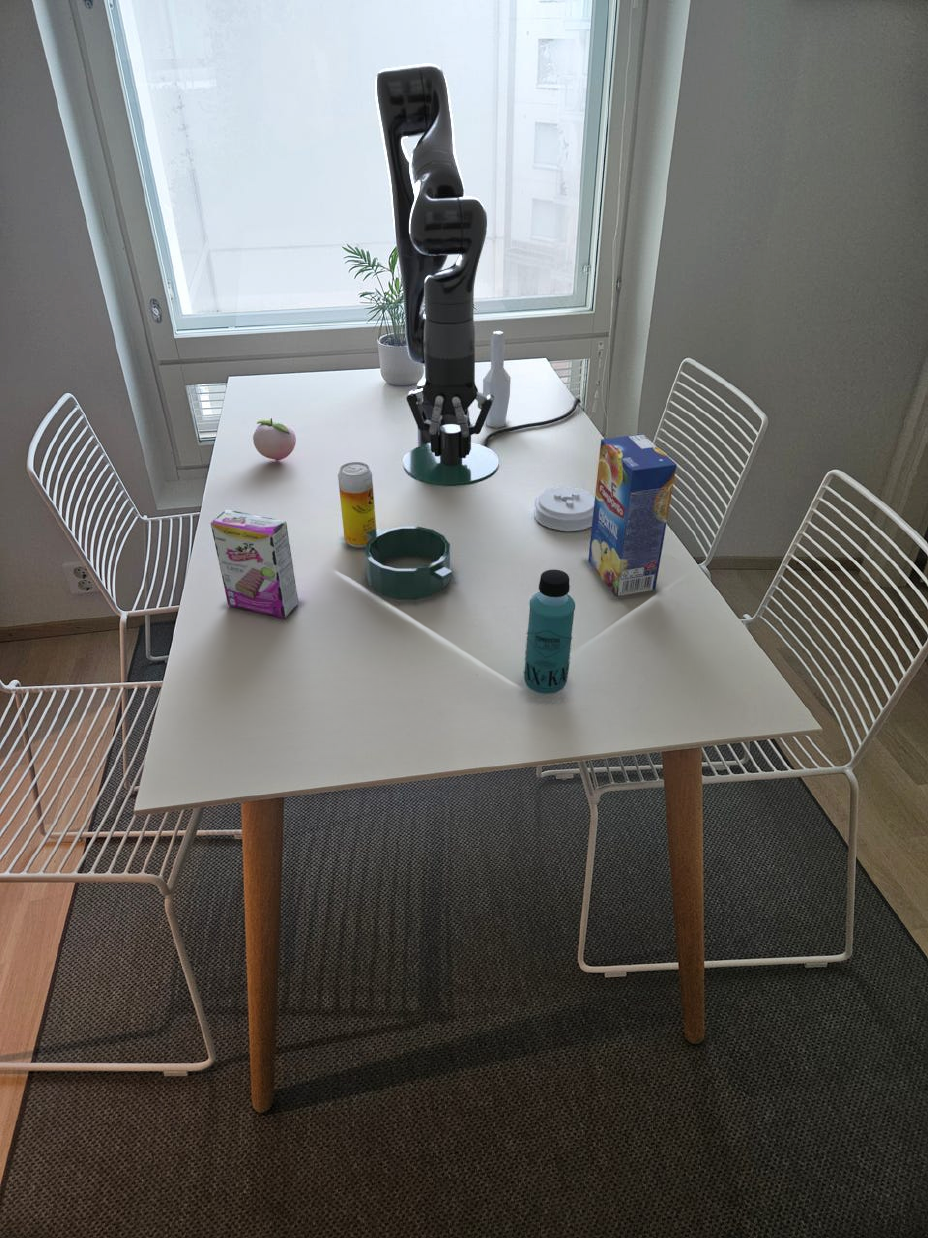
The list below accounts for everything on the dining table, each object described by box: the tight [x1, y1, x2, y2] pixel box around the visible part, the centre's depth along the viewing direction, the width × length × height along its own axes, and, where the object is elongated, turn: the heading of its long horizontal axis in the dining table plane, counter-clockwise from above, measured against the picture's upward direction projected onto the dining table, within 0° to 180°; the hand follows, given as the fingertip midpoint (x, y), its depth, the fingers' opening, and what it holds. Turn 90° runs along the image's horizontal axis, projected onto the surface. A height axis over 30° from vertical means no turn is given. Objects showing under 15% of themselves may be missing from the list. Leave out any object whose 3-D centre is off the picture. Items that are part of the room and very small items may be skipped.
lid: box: [533, 486, 595, 532], centre depth 157 cm, size 13×13×5 cm
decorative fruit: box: [252, 417, 297, 462], centre depth 177 cm, size 9×8×10 cm
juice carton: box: [587, 433, 678, 597], centre depth 135 cm, size 12×8×24 cm, turn 16°
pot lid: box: [402, 424, 500, 487], centre depth 128 cm, size 16×16×7 cm
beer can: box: [337, 461, 377, 549], centre depth 148 cm, size 6×6×15 cm
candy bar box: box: [209, 508, 299, 619], centre depth 130 cm, size 11×5×16 cm, turn 71°
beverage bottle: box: [522, 568, 576, 695], centre depth 113 cm, size 6×7×20 cm
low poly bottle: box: [482, 330, 511, 429], centre depth 190 cm, size 6×6×22 cm
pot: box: [364, 526, 454, 601], centre depth 140 cm, size 15×20×6 cm
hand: (450, 454), depth 129 cm, fingers closed on pot lid, 3 cm apart
